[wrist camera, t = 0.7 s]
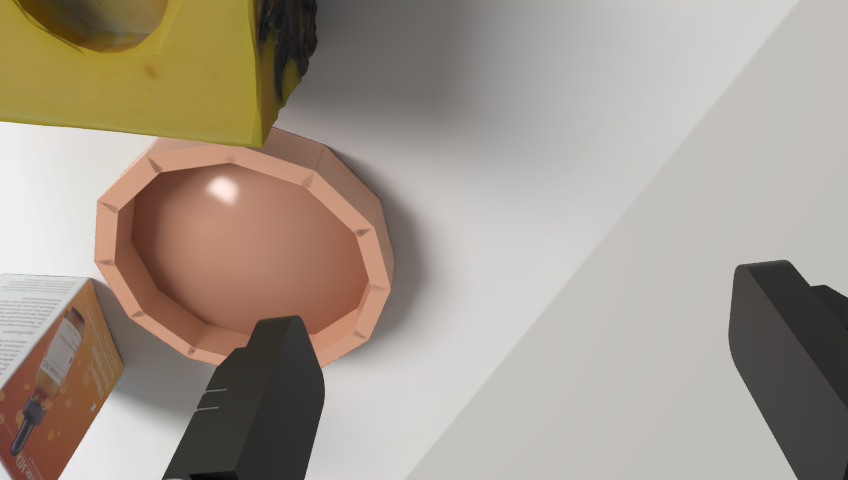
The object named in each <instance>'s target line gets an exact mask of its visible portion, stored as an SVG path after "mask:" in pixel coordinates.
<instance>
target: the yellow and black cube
mask: <svg viewBox="0 0 848 480" xmlns="http://www.w3.org/2000/svg"><path fill="white" fill-rule="evenodd" d="M316 12H317V5H316V0H0V121H3V122H14V123H24V124H34V125H43V126H59V127H73V128H83V129H94V130H104V131H114V132H123V133H132V134H141V135H150V136H159V137H168V138H176V139H185V140H193V141H200V142H207V143H214V144H220V145H227V146H240V147H259V148H262V147H263V145H264V143H265V141H266V140H267V138H268V136H269V134H270V130H271V127H272V125H273V124H274V122H275V121H276V120H277V118H278V112H279V110H280V109H281V108H283V107H284V106H285V104H286V102H287V99H288V97H289V96H290V94H291V93H292V91H293V90H294V88H295V87H296V86H297V85H298V84H299V83H300V82H301V78H302V76H304V75H305V73H306V72H307V70H308V65H309V61H308V59H309V58H310V56H312V55H313V53H314V51H315V48H316V44H317V38H316V35H315V29H316V26H315V16H316Z"/></svg>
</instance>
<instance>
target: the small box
mask: <svg viewBox="0 0 848 480" xmlns="http://www.w3.org/2000/svg"><path fill="white" fill-rule="evenodd" d="M123 371H124V366H123V364H122V361H121V359H120V357H119V355H118V352H117V350H116V347H115V345H114V342H113V339H112V337H111V334H110V331H109V329H108V326H107V323H106V321H105V318H104V315H103V312H102V310H101V307H100V304H99V301H98V299H97V296H96V293H95V289H94V286H93V283H92V281H91V279H90V278H82V277H57V276H38V275H19V274H0V480H58V478H59V477H60V475H61V474H62V472H63V470H64V469H65V467H66V465H67V464H68V462H69V460H70V459H71V457H72V455H73V454H74V452H75V450H76V449H77V447H78V445H79V444H80V442H81V441H82V439H83V437H84V435H85V434H86V432H87V430H88V429H89V427H90V426H91V424H92V422H93V421H94V419H95V417H96V416H97V414H98V413H99V411H100V409H101V408H102V406H103V404H104V402H105V401H106V399H107V398H108V396H109V394H110V393H111V391H112V389H113V388H114V386H115V384H116V383H117V381H118V379H119V378H120V376H121V375H122V373H123Z"/></svg>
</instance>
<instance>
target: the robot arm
mask: <svg viewBox="0 0 848 480" xmlns="http://www.w3.org/2000/svg"><path fill="white" fill-rule="evenodd" d="M729 345H730V350H731V355H732V358H733V361H734V363H735V366H736V368H737V370H738V372H739V373H740V375H741V377H742V379H743V381H744V383H745V384H746V386H747V388H748V390H749V392H750V393H751V395H752V397H753V399H754V401H755V403H756V404H757V406H758V408H759V410H760V411H761V413H762V415H763V417H764V419H765V421H766V423H767V424H768V426H769V428H770V430H771V432H772V433H773V435H774V437H775V439H776V441H777V442H778V444H779V446H780V448H781V450H782V452H783V453H784V455H785V457H786V459H787V461H788V462H789V464H790V466H791V468H792V470H793V471H794V473H795V475H796V477H797V479H798V480H848V298H847V297H846V296H843V295H842V294H840V293H838V292H837V291H835V290H833V289H831V288H830V287H828V286H826V285H820V286H810V285H809V284H808V283H807V282H806V280H805V279H804V278H803V277H802V276H801V274H800V273H799V272H798V271H797V270H796V269H795V267H794V266H793V265H792V264H791V263H790V262H789V261H787V260H778V261H769V262H760V263H752V264H743V265H739V266H737V268H736V270H735V274H734V281H733V291H732V301H731V312H730V322H729ZM324 398H325V385H324V378H323V373H322V370H321V368H320V365H319V362H318V359H317V357H316V354H315V351H314V348H313V346H312V343H311V340H310V338H309V335H308V332H307V329H306V327H305V324H304V322H303V320H302V318H301V317H300V316H299V315H292V316H284V317H275V318H266V319H260V320H259V321H258V322H257V324H256V325H255V328H254V330H253V332H252V334H251V337H250V339H249V341H248V343H247V345H246V347H240V348H235V349H234V350H233V351H232V352H231V353H230V354H229V356H228V357H227V358H226V359H225V360H224V361H223V362H222V363H221V364H220V365H219V366H218V367H217V368H216V370H215V372H214V374H213V376H212V378H211V380H210V382H209V384H208V386H207V388H206V394H203V396H202V398H201V400H200V402H199V405H198V407H197V412H195V413H194V415H193V417H192V419H191V421H190V423H189V425H188V427H187V429H186V431H185V433H184V435H183V437H182V439H181V441H180V443H179V445H178V447H177V449H176V451H175V453H174V455H173V457H172V460H171V462H170V464H169V466H168V468H167V470H166V472H165V474H164V476H163V478H162V480H304V479H305V475H306V471H307V467H308V463H309V459H310V455H311V451H312V448H313V444H314V440H315V436H316V432H317V428H318V424H319V420H320V417H321V413H322V409H323V405H324Z"/></svg>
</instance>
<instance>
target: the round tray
mask: <svg viewBox="0 0 848 480" xmlns="http://www.w3.org/2000/svg"><path fill="white" fill-rule="evenodd" d="M94 262H95V264H96V265H97V267H98V268H99V270H100V272H101V273H102V275H103V276H104V278H105V280H106V281H107V283H108V285H109V286H110V288H111V289H112V291H113V293H114V294H115V296H116V297H117V299H118V301H119V302H120V304H121V306H122V307H123V309H124V310H125V312H126V314H127V315H128V317H129V318H130V319H132V320H133V321H135V322H136V323H138V324H139V325H140V326H142V327H143V328H145V329H146V330H148V331H149V332H151V333H152V334H154V335H155V336H157V337H158V338H159V339H161V340H162V341H164V342H165V343H167V344H168V345H170V346H171V347H173V348H174V349H176V350H177V351H178V352H180V353H181V354H183V355H184V356H186V357H187V358H191V359H195V360H198V361H202V362H206V363H210V364H213V365H217V366H219V365H220V364H221V363H222V362H223V361H224V360H225V359H226V358H227V357H228V356H229V354H230V353H231V352H232V351H233V350H234V349H235V348H240V347H246V345H247V343H248V341H249V339H250V337H251V334H252V332H253V330H254V328H255V325H256V324H257V322H258V321H259V320H260V319H266V318H275V317H284V316H292V315H299V316H300V317H301V318H302V320H303V322H304V324H305V327H306V329H307V332H308V335H309V338H310V340H311V343H312V346H313V348H314V351H315V354H316V357H317V359H318V362H319V365H320V368H323V367H324V366H326V365H328V364H329V363H331V362H333V361H334V360H336V359H338V358H340V357H341V356H343V355H345V354H346V353H348V352H350V351H351V350H353V349H355V348H356V347H358V346H360V345H361V344H363V343H365V342H366V341H368V340H369V338H370V336H371V334H372V332H373V329H374V327H375V325H376V323H377V320H378V318H379V316H380V314H381V311H382V309H383V307H384V305H385V302H386V300H387V298H388V296H389V293H390V291H391V286H392V279H393V271H394V263H395V257H394V253H393V249H392V246H391V242H390V238H389V234H388V230H387V226H386V222H385V218H384V214H383V210H382V206H381V202H380V199H379V198H378V197H377V196H376V195H375V194H374V193H373V192H372V191H371V190H370V189H369V188H368V187H367V186H366V185H365V184H364V183H363V182H362V181H361V180H360V179H359V178H358V177H357V176H356V175H355V174H354V173H353V172H352V171H351V170H350V169H349V168H348V167H347V166H346V165H345V164H344V163H343V162H342V161H341V160H340V159H339V158H338V157H337V156H336V155H335V154H334V153H333V152H332V151H331V150H330V149H329V148H328V147H327V146H326V145H324V144H321V143H318V142H315V141H312V140H309V139H306V138H303V137H300V136H297V135H294V134H291V133H288V132H285V131H282V130H279V129H276V128H274V127H271V130H270V134H269V136H268V138H267V140H266V141H265V143H264V145H263V147H262V148H259V147H240V146H227V145H220V144H214V143H207V142H200V141H193V140H185V139H176V138H168V137H159V138H158V139H157V140H156V141H155V142H154V143H153V144H152V145H151V146H150V147H149V148H148V149H147V150H146V151H145V152H143V153H142V154H141V155H140V156H139V157H138V158H137V159H136V160H135V161H134V162H133V163H132V164H131V165H130V166H129V167H128V168H127V169H126V170H125V171H124V172H123V173H122V174H121V175H120V176H119V177H118V178H117V179H116V180H115V181H114V183H113V184H112V185H111V186H110V187H109V188H108V189H107V190H106V191H105V193H104V194H103V195H102V196H101V197H100V198H99V199H98V200H97V215H96V236H95V256H94Z"/></svg>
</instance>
